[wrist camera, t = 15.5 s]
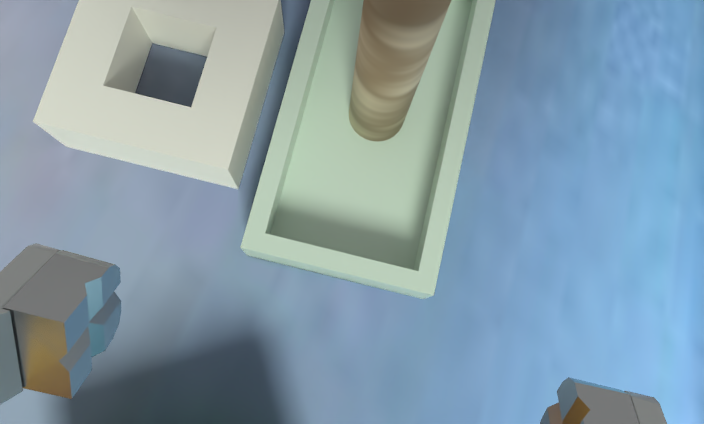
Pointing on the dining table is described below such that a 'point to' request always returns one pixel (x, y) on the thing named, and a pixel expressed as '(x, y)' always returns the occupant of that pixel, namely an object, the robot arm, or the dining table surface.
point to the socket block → (158, 115)
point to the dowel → (391, 62)
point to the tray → (367, 158)
